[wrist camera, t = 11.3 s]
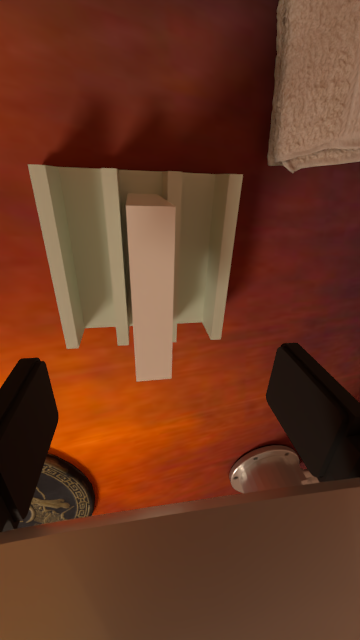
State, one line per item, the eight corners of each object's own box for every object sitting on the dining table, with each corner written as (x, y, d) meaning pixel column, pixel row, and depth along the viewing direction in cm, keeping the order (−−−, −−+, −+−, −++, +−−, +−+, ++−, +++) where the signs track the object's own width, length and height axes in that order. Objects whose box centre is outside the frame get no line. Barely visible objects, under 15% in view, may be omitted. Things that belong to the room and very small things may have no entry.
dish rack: (228, 175, 22) (249, 174, 18) (212, 317, 29) (225, 338, 25) (40, 166, 20) (19, 164, 16) (71, 323, 27) (60, 349, 23)
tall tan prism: (157, 194, 21) (175, 206, 13) (158, 312, 27) (171, 378, 18) (127, 193, 21) (125, 205, 12) (134, 313, 26) (136, 381, 18)
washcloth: (262, 176, 23) (279, 176, 21) (277, -192, 14) (311, -275, 12) (381, 159, 24) (412, 157, 22) (466, -193, 15) (537, -270, 13)
